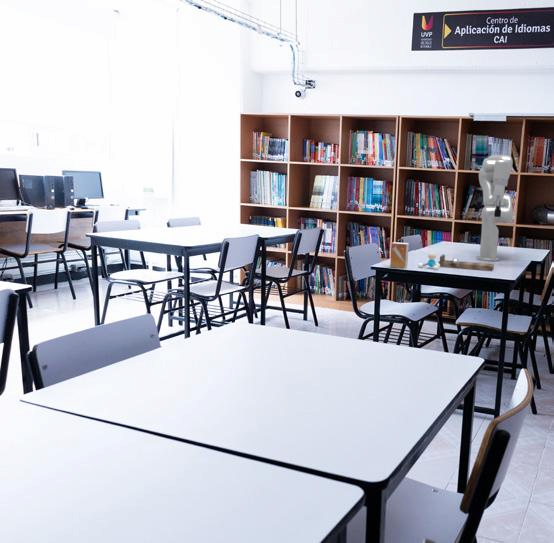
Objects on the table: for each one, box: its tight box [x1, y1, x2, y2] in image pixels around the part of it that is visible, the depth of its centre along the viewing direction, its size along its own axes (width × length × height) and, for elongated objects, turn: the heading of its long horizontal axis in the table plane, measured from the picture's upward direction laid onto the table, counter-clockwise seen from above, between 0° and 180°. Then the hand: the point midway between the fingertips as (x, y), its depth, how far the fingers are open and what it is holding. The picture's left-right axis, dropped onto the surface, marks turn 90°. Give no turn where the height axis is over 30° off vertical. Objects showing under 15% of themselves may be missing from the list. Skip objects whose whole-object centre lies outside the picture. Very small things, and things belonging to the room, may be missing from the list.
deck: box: [437, 254, 495, 272], centre depth 355 cm, size 28×10×6 cm, turn 68°
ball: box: [450, 258, 459, 263], centre depth 358 cm, size 4×4×4 cm
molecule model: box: [417, 252, 441, 271], centre depth 349 cm, size 12×12×9 cm
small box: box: [389, 241, 410, 269], centre depth 348 cm, size 8×6×13 cm
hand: (497, 216), depth 362 cm, fingers closed
